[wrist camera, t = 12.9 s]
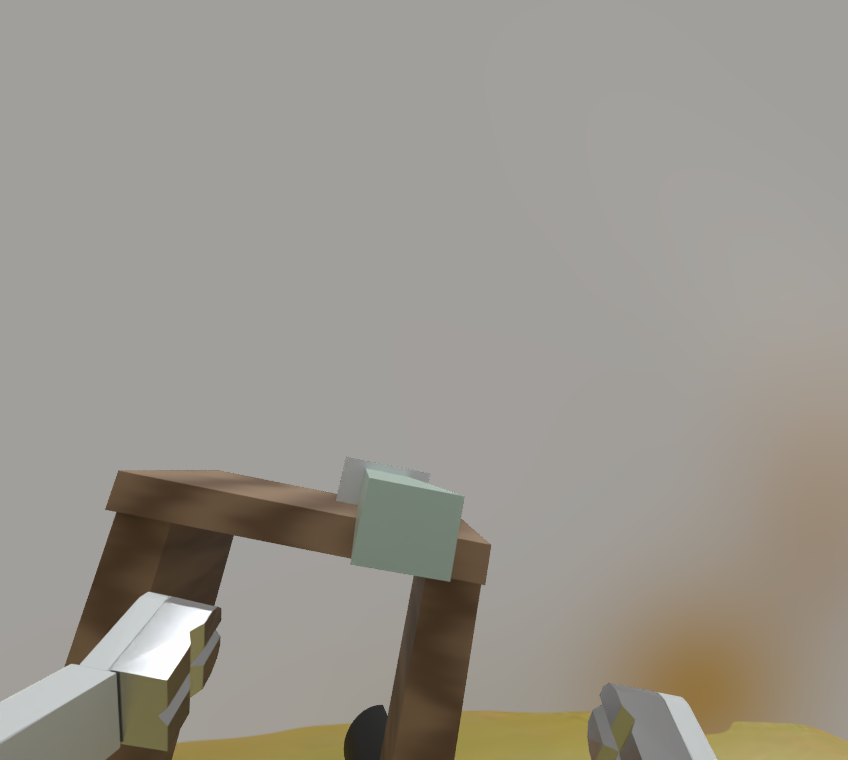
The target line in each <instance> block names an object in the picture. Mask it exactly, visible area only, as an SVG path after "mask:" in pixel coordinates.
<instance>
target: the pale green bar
mask: <svg viewBox="0 0 848 760" xmlns="http://www.w3.org/2000/svg"><path fill="white" fill-rule="evenodd" d="M429 477H430V474H429V473H424V472H419V471H414V470H409V469H404V468H399V467H394V466H389V465H384V464H379V463H374V462H369V461H364V460H359V459H354V458H349V457H346V459H345V464H344V468H343V472H342V477H341V481H340V485H339V490H338V494H337V498H336V501H339V502H344V503H349V504H354V505H358V507H357V515H356V523H355V531H354V539H353V547H352V556H351V565H357V566H363V567H369V568H374V569H380V570H385V571H391V572H397V573H403V574H409V575H414V576H420V577H425V578H431V579H437V580H443V581H448V582H450V580H451V574H452V568H453V562H454V556H455V550H456V544H457V538H458V532H459V526H460V520H461V514H462V508H463V503H464V496H462V495H459V494H456V493H453V492H451V491H448V490H445V489H442V488H439V487H436V486H433V485H430V484H428V482H429Z"/></svg>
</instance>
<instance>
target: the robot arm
mask: <svg viewBox="0 0 848 760" xmlns="http://www.w3.org/2000/svg"><path fill="white" fill-rule="evenodd" d="M220 621H221V608H219V607H216V606H212V605H207V604H203V603H198V602H194V601H190V600H185V599H181V598H177V597H172V596H167V595H162V594H157V593H153V592H147V593H145V594H144V595H142V596H141V597H139V598H138V599H137V600H136V602H135V603H134V604H133V605H132V606H131V607H130V608H129V609H128V611H127V612H126V613H125V614H124V615H123V616H122V617H121V618H120V620H119V621H118V622H117V623H116V624H115V625H114V626H113V627H112V629H111V630H110V631H109V632H108V633H107V634H106V635H105V636H104V638H103V639H102V640H101V641H100V642H99V643H98V644H97V645H96V647H95V648H94V649H93V650H92V651H91V652H90V653H89V654H88V656H87V657H86V658H85V659H84V660H83V661H82V662H81V663H80V665H77V664H70V665H68V666H66V667H64V668H62V669H60V670H59V671H57V672H55V673H53V674H51V675H49V676H48V677H45V678H44V679H42V680H40V681H38V682H36V683H34V684H32V685H31V686H29V687H27V688H25V689H23V690H21V691H19V692H17V693H16V694H14V695H12V696H10V697H8V698H6V699H5V700H3V701H1V702H0V760H106V759H107V758H108V757H109V756H111V755H112V754H113V753H114V752H115V751H117V750H118V749H119V748H120V746H121V745H120V744H125V745H131V746H137V747H144V748H150V749H156V750H162V751H168V750H169V748H170V746H171V744H172V743H173V741H174V739H175V737H176V735H177V734H178V732H179V730H180V728H181V727H182V725H183V723H184V721H185V720H186V718H187V716H188V714H189V706H190V697H192V696H193V695H195V694H196V693H198V692H199V691H200V690H202V689H203V687H204V685H205V683H206V682H207V680H208V678H209V676H210V674H211V672H212V669H213V667H214V664H215V662H216V659H217V656H218V651H219V647H220V635H219V634H218V632H217V631H216V628H217V626H218V625H219V623H220ZM600 698H601V701H602V705H600V706H599V707H597V708H595V709H593V711H592V713H591V716H590V718H589V721H588V736H587V738H588V745H589V752H590V756H591V760H717V758H716V756H715V754H714V752H713V750H712V748H711V746H710V745H709V743H708V741H707V739H706V737H705V735H704V733H703V731H702V730H701V727H700V725H699V724H698V722H697V720H696V718H695V716H694V714H693V712H692V710H691V708H690V707H689V705H688V703H687V702H686V701H685V700H684V699H683V698H682V697H678V696H673V695H668V694H663V693H658V692H654V691H651V690H645V689H639V688H634V687H628V686H623V685H617V684H612V683H608V684H606V685H605V686H604V687H603V688H602V691H601V693H600Z"/></svg>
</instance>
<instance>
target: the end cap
mask: <svg viewBox="0 0 848 760" xmlns="http://www.w3.org/2000/svg"><path fill="white" fill-rule="evenodd" d="M387 717H388V716H387V714H386V711H385V709H384V707H383V705H376V706H373V707H370V708H368V709H366V710H364V711H363V712H362V713H361V714H360V715H358V716H357V718H356V719H355V720H354V721H353V723H352V724H351V726H350V727H349V730H348V732H347V734H346V738H345V742H344V757H345V760H380V755H381V750H382V744H383V739H384V734H385V728H386V723H387Z"/></svg>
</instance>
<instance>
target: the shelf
mask: <svg viewBox="0 0 848 760" xmlns="http://www.w3.org/2000/svg"><path fill="white" fill-rule="evenodd" d="M336 498H337V494H334V493H329V492H324V491H319V490H314V489H309V488H304V487H299V486H294V485H289V484H284V483H279V482H273V481H268V480H264V479H259V478H254V477H249V476H244V475H239V474H234V473H229V472H224V471H219V470H182V471H181V470H169V471H168V470H167V471H165V470H164V471H162V470H160V471H159V470H158V471H156V470H155V471H118V474H117V477H116V479H115V482H114V485H113V488H112V491H111V494H110V497H109V500H108V503H107V506H106V510H110V511H116V516H115V519H114V521H113V525H112V527H111V530H110V533H109V536H108V539H107V542H106V545H105V548H104V551H103V554H102V557H101V560H100V563H99V566H98V569H97V572H96V575H95V578H94V581H93V584H92V587H91V590H90V593H89V596H88V599H87V602H86V604H85V608H84V610H83V614H82V616H81V620H80V622H79V625H78V628H77V631H76V634H75V637H74V640H73V643H72V646H71V649H70V652H69V655H68V658H67V661H66V664H65V667H66V666H68V665H70V664H77V665H80V663H81V662H82V661H83V660H84V659H85V658H86V657H87V656H88V654H89V653H90V652H91V651H92V650H93V649H94V648H95V647H96V645H97V644H98V643H99V642H100V641H101V640H102V639H103V638H104V636H105V635H106V634H107V633H108V632H109V631H110V630H111V629H112V627H113V626H114V625H115V624H116V623H117V622H118V621H119V620H120V618H121V617H122V616H123V615H124V614H125V613H126V612H127V611H128V609H129V608H130V607H131V606H132V605H133V604H134V603H135V602H136V600H137V599H138V598H139V597H141V596H142V595H144V594H145V593H147V592H153V593H157V594H162V595H167V596H172V597H177V598H181V599H185V600H190V601H194V602H198V603H203V604H207V605H212V606H214V605H215V601H216V598H217V594H218V590H219V586H220V583H221V579H222V576H223V572H224V569H225V565H226V561H227V558H228V554H229V551H230V547H231V543H232V540H233V536H234V535H235V536H240V537H246V538H251V539H256V540H261V541H266V542H271V543H276V544H281V545H286V546H291V547H296V548H301V549H306V550H311V551H317V552H321V553H326V554H331V555H336V556H341V557H346V558H351V556H352V547H353V539H354V531H355V523H356V515H357V507H358V505H354V504H349V503H344V502H339V501H336ZM490 550H491V544H490V543H488V542H487V541H486V540H485V539H484V538H483V537H481V536H480V535H479V534H478V533H477V532H476V531H475V530H474V529H472V528H471V527H470V526H469V525H468V524H467V523H466V522H464V521H463V520H462V519H461V520H460V526H459V532H458V538H457V544H456V550H455V556H454V562H453V568H452V574H451V580H450V582H448V581H443V580H437V579H431V578H425V577H420V576H414V578H413V583H412V589H411V594H410V599H409V605H408V610H407V615H406V621H405V626H404V631H403V637H402V642H401V648H400V653H399V659H398V664H397V669H396V675H395V680H394V685H393V691H392V696H391V702H390V707H389V713H388V717H387V723H386V728H385V734H384V739H383V744H382V750H381V755H380V760H454V757H455V751H456V744H457V738H458V731H459V725H460V718H461V712H462V705H463V698H464V691H465V685H466V679H467V672H468V666H469V659H470V653H471V646H472V639H473V633H474V627H475V620H476V613H477V607H478V601H479V594H480V588H481V584H482V585H485V582H486V575H487V569H488V563H489V556H490ZM179 731H180V730H179ZM178 735H179V732H178V734H177V735H176V737H175V739H174V741H173V743H172V744H171V746H170V748H169V750H168V751H162V750H156V749H150V748H144V747H137V746H131V745H125V744H120V745H121V746H120V748H119V749H118V750H117V751H115V752H114V753H113V754H112V755H111V756H109V757H108V758H107V759H106V760H172V757H173V753H174V750H175V746H176V742H177V739H178Z"/></svg>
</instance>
